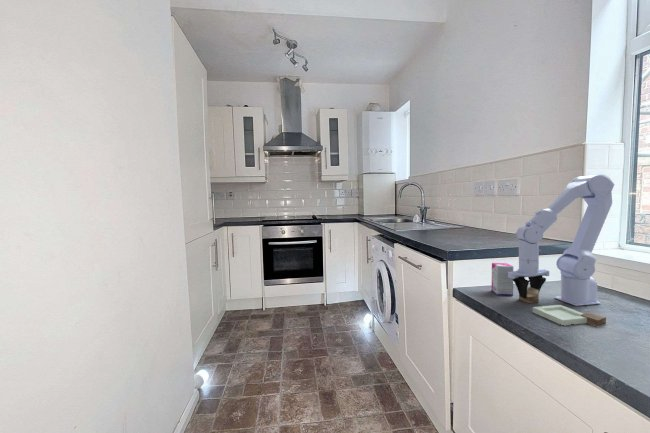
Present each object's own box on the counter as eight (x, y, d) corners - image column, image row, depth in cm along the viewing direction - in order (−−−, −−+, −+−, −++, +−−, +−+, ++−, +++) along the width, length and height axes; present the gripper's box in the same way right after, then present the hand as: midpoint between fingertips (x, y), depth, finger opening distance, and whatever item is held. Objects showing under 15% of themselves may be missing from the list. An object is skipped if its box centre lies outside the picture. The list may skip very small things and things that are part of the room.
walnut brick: (588, 318, 83) (588, 311, 83) (605, 324, 79) (606, 317, 79) (580, 321, 82) (580, 314, 81) (598, 327, 78) (598, 320, 78)
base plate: (560, 309, 90) (560, 304, 90) (593, 322, 80) (593, 317, 80) (532, 312, 89) (532, 307, 89) (562, 325, 79) (562, 320, 79)
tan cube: (528, 298, 101) (528, 286, 101) (538, 302, 97) (538, 289, 97) (519, 299, 101) (519, 287, 100) (528, 303, 97) (528, 290, 97)
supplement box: (514, 296, 104) (514, 266, 104) (496, 295, 105) (496, 266, 105) (507, 291, 110) (507, 262, 109) (490, 290, 111) (490, 262, 110)
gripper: (537, 255, 103) (537, 291, 104) (501, 258, 101) (501, 294, 102) (554, 259, 96) (554, 298, 97) (516, 262, 94) (517, 301, 95)
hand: (528, 296), depth 99 cm, fingers closed on tan cube, 4 cm apart
